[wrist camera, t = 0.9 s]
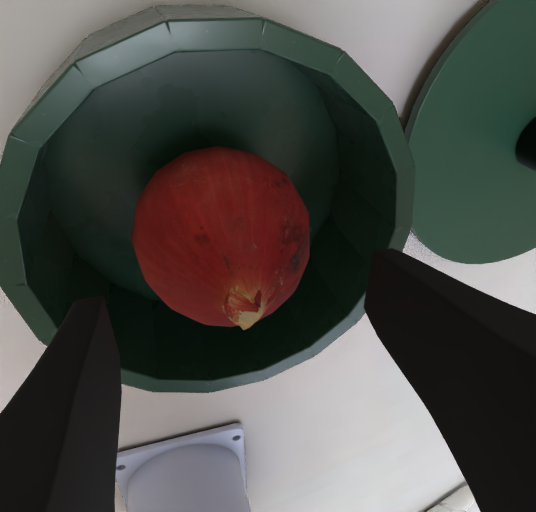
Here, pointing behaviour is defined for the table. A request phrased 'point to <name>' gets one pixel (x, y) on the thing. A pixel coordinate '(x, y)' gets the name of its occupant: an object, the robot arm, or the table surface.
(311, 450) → the table surface
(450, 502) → the unicorn horn
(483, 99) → the lid
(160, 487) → the robot arm
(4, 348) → the table surface
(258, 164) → the onion
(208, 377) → the pot
